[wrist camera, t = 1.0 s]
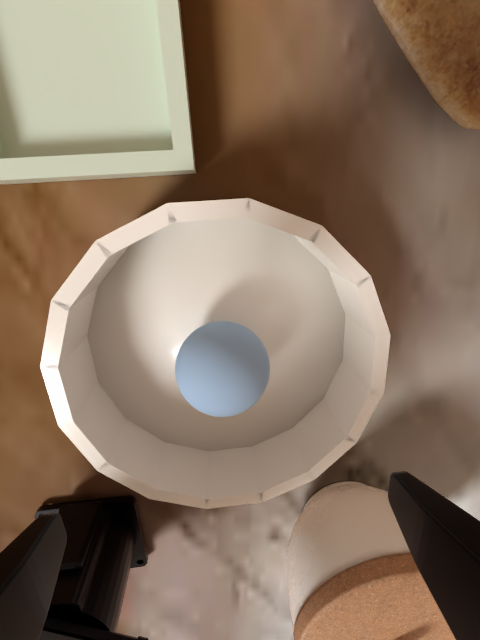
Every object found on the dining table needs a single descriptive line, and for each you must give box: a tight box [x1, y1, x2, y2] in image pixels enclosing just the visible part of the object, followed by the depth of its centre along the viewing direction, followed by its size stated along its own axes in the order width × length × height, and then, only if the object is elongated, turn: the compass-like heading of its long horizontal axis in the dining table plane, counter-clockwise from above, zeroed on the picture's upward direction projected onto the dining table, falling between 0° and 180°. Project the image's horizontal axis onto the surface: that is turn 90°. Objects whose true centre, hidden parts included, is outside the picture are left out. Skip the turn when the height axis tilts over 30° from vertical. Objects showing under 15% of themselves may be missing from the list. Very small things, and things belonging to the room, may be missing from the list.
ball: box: [175, 321, 270, 417], centre depth 16 cm, size 5×5×5 cm
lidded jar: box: [287, 481, 456, 640], centre depth 20 cm, size 11×11×9 cm
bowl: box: [40, 198, 391, 509], centre depth 17 cm, size 15×15×4 cm
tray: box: [0, 0, 196, 184], centre depth 13 cm, size 9×9×2 cm
